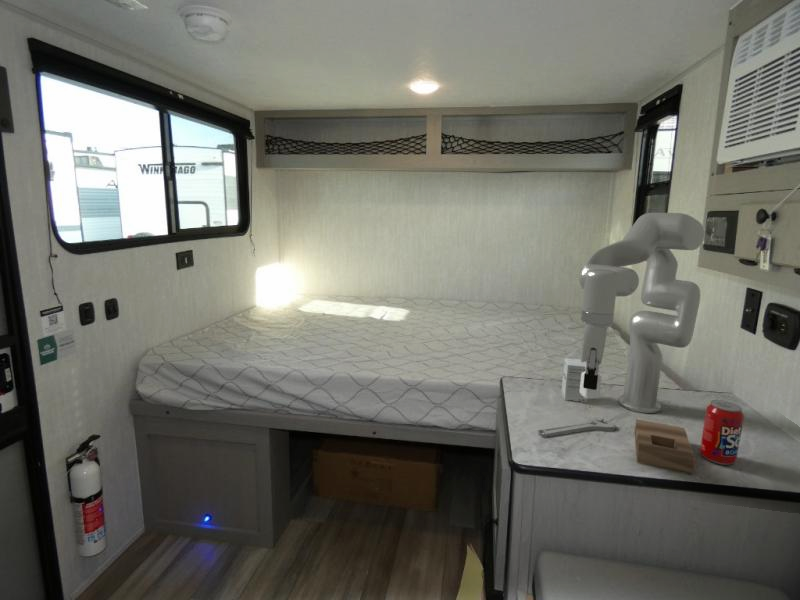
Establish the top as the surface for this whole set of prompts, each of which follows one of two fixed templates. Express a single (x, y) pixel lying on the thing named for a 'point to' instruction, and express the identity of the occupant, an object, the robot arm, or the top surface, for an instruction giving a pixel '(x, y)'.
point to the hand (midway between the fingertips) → (590, 383)
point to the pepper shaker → (590, 392)
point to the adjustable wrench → (578, 427)
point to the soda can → (722, 432)
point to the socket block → (663, 446)
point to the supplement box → (572, 379)
